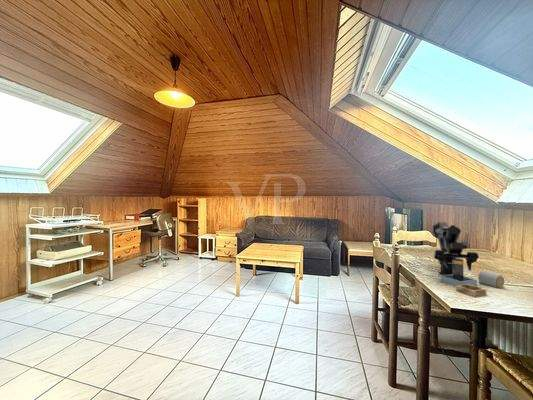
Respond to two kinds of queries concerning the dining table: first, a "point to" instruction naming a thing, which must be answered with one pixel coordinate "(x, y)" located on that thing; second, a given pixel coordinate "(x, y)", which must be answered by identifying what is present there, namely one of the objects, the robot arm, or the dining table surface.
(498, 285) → the grey cylinder
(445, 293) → the dining table surface
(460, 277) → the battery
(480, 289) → the brown wooden square box
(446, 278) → the tray
